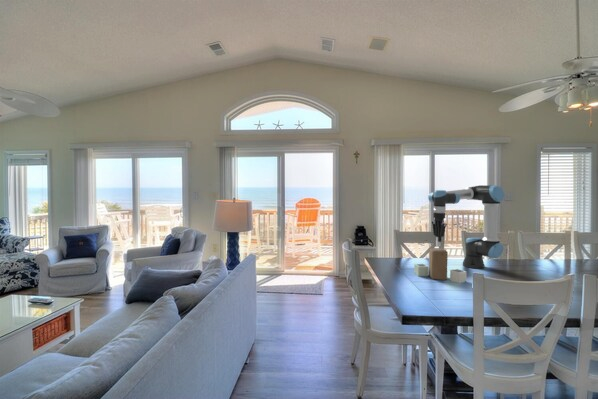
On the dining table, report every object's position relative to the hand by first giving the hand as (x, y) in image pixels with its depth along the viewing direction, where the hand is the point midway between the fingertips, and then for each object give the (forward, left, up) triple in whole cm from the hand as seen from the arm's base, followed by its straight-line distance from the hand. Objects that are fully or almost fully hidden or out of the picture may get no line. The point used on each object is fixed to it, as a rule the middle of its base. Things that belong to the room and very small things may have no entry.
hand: (438, 246), depth 214 cm
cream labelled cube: (-9, +9, -23) cm, 26 cm away
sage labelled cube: (+7, -9, -23) cm, 25 cm away
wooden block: (0, 0, -23) cm, 23 cm away
